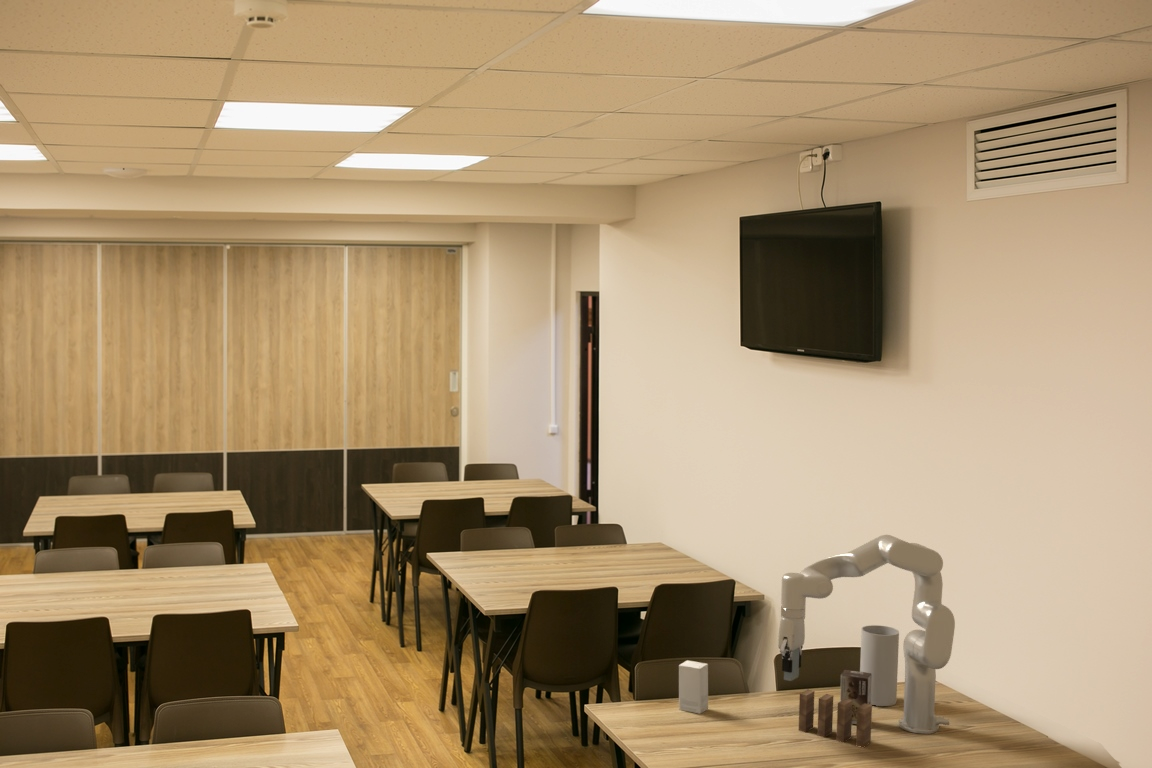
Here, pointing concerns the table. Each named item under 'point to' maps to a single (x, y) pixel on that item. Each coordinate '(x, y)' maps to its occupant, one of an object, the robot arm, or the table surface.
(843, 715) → the domino
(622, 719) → the table surface
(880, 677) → the cylinder vase
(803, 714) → the domino
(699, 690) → the skincare box
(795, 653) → the tile
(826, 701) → the domino
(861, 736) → the domino
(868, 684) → the coffee box
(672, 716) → the table surface
